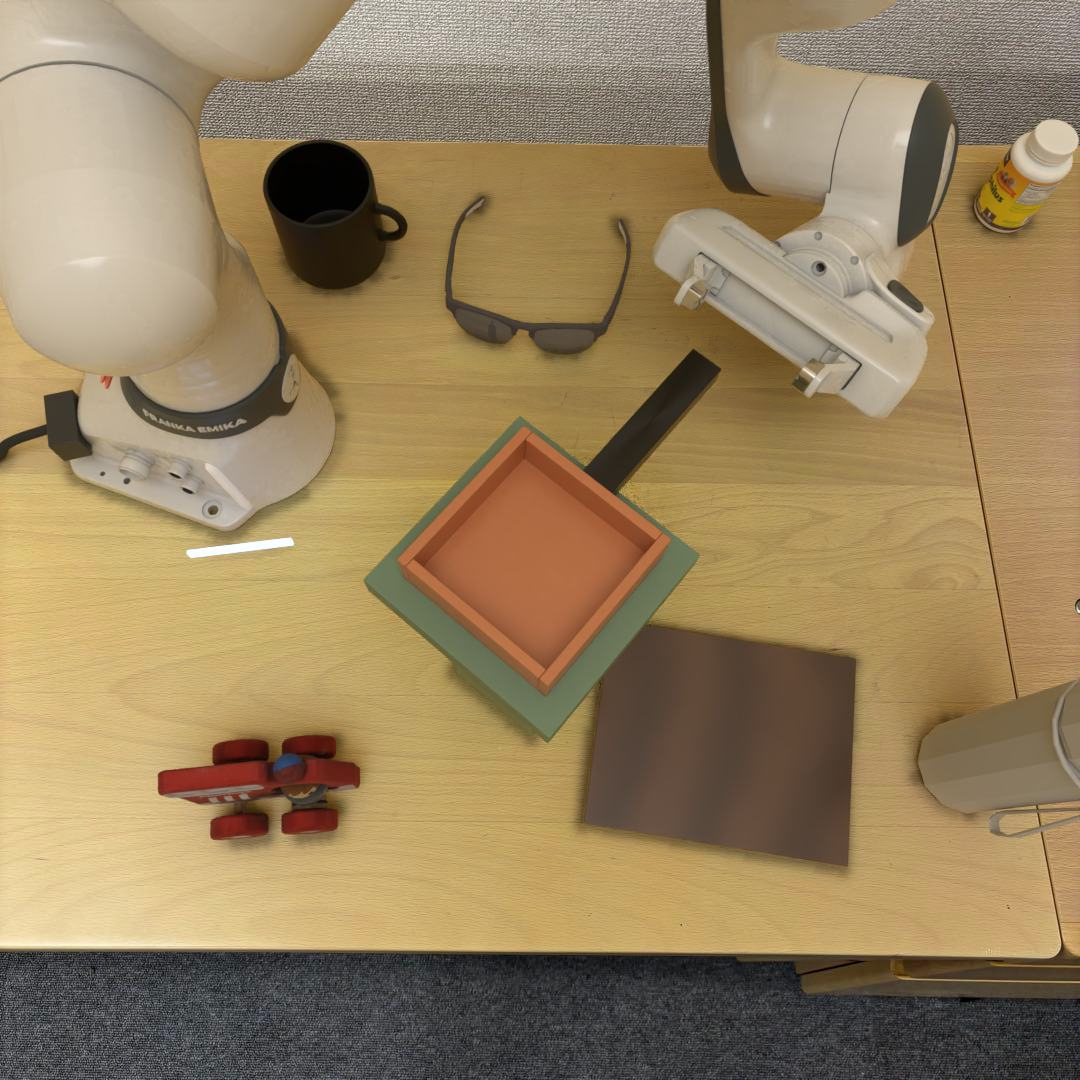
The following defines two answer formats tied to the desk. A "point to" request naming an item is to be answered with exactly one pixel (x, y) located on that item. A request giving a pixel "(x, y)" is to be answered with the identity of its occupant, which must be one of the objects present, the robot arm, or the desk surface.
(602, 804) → the board
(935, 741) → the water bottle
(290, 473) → the robot arm
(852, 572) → the desk surface
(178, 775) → the toy fire truck
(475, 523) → the pan
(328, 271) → the mug
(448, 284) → the sunglasses
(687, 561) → the stand
